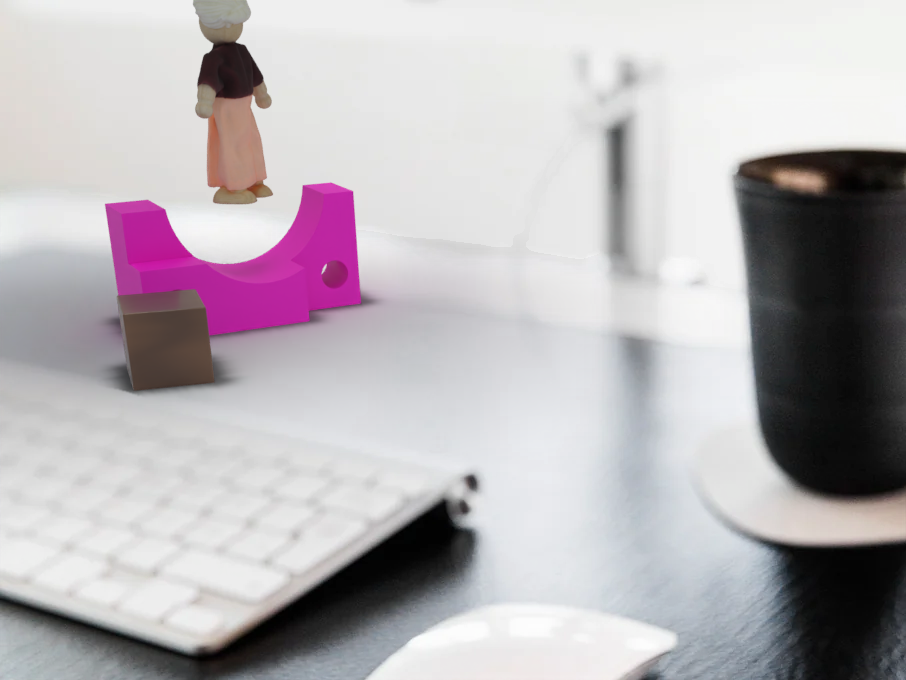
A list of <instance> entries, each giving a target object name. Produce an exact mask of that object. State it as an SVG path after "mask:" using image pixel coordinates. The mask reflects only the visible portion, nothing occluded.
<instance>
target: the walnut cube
mask: <svg viewBox="0 0 906 680" xmlns="http://www.w3.org/2000/svg"><path fill="white" fill-rule="evenodd" d="M116 303H117V309H118V318H119V324H120V331H121V336H122V343H123V344H122V345H123V351H124V357H125V365H126V370H127V373H128V374H127V375H128V377H129V380H130V384H131V386H132V390H133V392H137V391H138V392H139V391H146V390H147V391H148V390H157V389H166V388H176V387H185V386H195V385H196V386H197V385H206V384H215V383H216V380H215V372H214V364H213V355H212V348H211V346H212V345H211V338H210V336H209V329H208V321H207V313H206V307H205V306H204V304H203V302H202V300H201V298H200V297H199V295H198V293H197V291H196V290H195V289H192V290H180V291H167V292H155V293H143V294H131V295H118V294H117V296H116Z"/></svg>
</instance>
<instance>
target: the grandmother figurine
mask: <svg viewBox="0 0 906 680" xmlns="http://www.w3.org/2000/svg"><path fill="white" fill-rule="evenodd" d="M192 6H193V7H194V10H195V15H197V16H198V25H199V30H200V31H201V34H202V35H203V37H204V38H205V39H206V40H207V41H209V42H210V44H212V48H211V49H210V51H209V52H205V53H204V54H203V56H202V60H201V64H200V68H199V74H198V77H197V83H196V86H197V94H196V99H197V103H196V104H195V107H194V111H195V112H194V113H195V114H196V116H197V117H198V118H200V119H203V120H204V119H205V120H206V119H207V141H206V178H207V179H206V180H207V186H208V188H213V189H215V188H218V189H217V190H216V191H215V193H214V195H213V198H212V203H213V204H217V205H252V204H255V203H257V202H258V199H263V198H268V197H269V198H270V197H272V196H274V193H273V191H272V189H271V188H270V187H269V186H268V185H266V184H265V183H264V180H265V181H266V180H267V179H268V176H267V168H266V167H267V166H266V161H265V160H266V159H265V155H264V147H263V141H262V137H261V133H260V129H259V128H258V125H257V124H258V123H257V121H256V118H255V115H254V112H253V109H252V102H253V97H254V103H255V105H256V106H257V107H258V108H259V109H262V110H266V109H268V108H269V109H270V107H271V106H272V104H273V103H272V101H273V100H272V97H271V95H270V94H269V93H268V87H267V85H266V82H265V79H264V75H263V72H262V71H261V70H260V68H259V65H258V64H257V63H256V61H255V58H253V56H252V54H251V52H250V51H249V49H248V48H247V45H246V44H243V43H239V42H237V41H238V40H239V39H240V37H241V35H242V33H243V30H244V23H246V22H247V21H248V20H250V18H251V15H252V10H251V8H250V5H249V3H248V1H247V0H192Z"/></svg>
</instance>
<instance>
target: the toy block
mask: <svg viewBox="0 0 906 680" xmlns="http://www.w3.org/2000/svg"><path fill="white" fill-rule="evenodd" d="M104 206H105V207H104V208H105V214H106V221H107V227H108V229H107V230H108V235H109V242H110V249H111V256H112V263H113V269H114V276H115V281H116V282H115V283H116V291H117V296H118V295H131V294H143V293H155V292H167V291H180V290H192V289H195V290H196V291H197V293H198V295H199V297H200V298H201V300H202V302H203V304H204V306H205V307H206V313H207V321H208V329H209V337H210V336H217V335H222V334H231V333H236V332H237V333H238V332H243V331H250V330H251V331H252V330H259V329H265V328H273V327H279V326H287V325H294V324H300V323H306V322H307V323H308V322H310V312H311V311H317V310H323V309H331V308H338V307H339V308H340V307H345V306H346V307H347V306H353V305H360V304H361V305H362V297H361V283H360V281H361V280H360V268H359V254H358V241H357V239H358V238H357V225H356V212H355V196H354V190H352V189H349V188H347V187H345V186H341V185H338V184H336V183H333V182H321V183H310V184H302V189H301V197H300V203H299V207H298V210H297V213H296V216H295V218H294V220H293V222H292V224H291V226H290V227H289V229H288V230H287V232H286V233H285V234H284V236H282V237H281V239H280V240H279V241H278V242H277V243H276V244H275V245H273V247H272V248H270V249H269V250H267V251H266V252H264V253H263V254H261V255H259V256H256V257H254V258H251V259H248V260H246V261H241V262H234V263H217V262H211V261H206V260H205V259H201V258H198V257H196V256H195V255H193V254H192V253H191V252H190V251H189V250H188V248H187V247H186V246H184V244H183V242H181V240H180V239H179V237H178V236H177V234H176V232H175V231H174V229H173V226H172V223H171V222H170V219H169V217H168V214H167V210H166V209H165V208H164V207H162V206H160V205H158V204H156V203H155V202H153V201H151V200H149V199H141V200H130V201H119V202H108V203H104ZM325 266H326V267H325ZM324 268H325V269H324ZM323 269H324V270H323Z"/></svg>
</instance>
